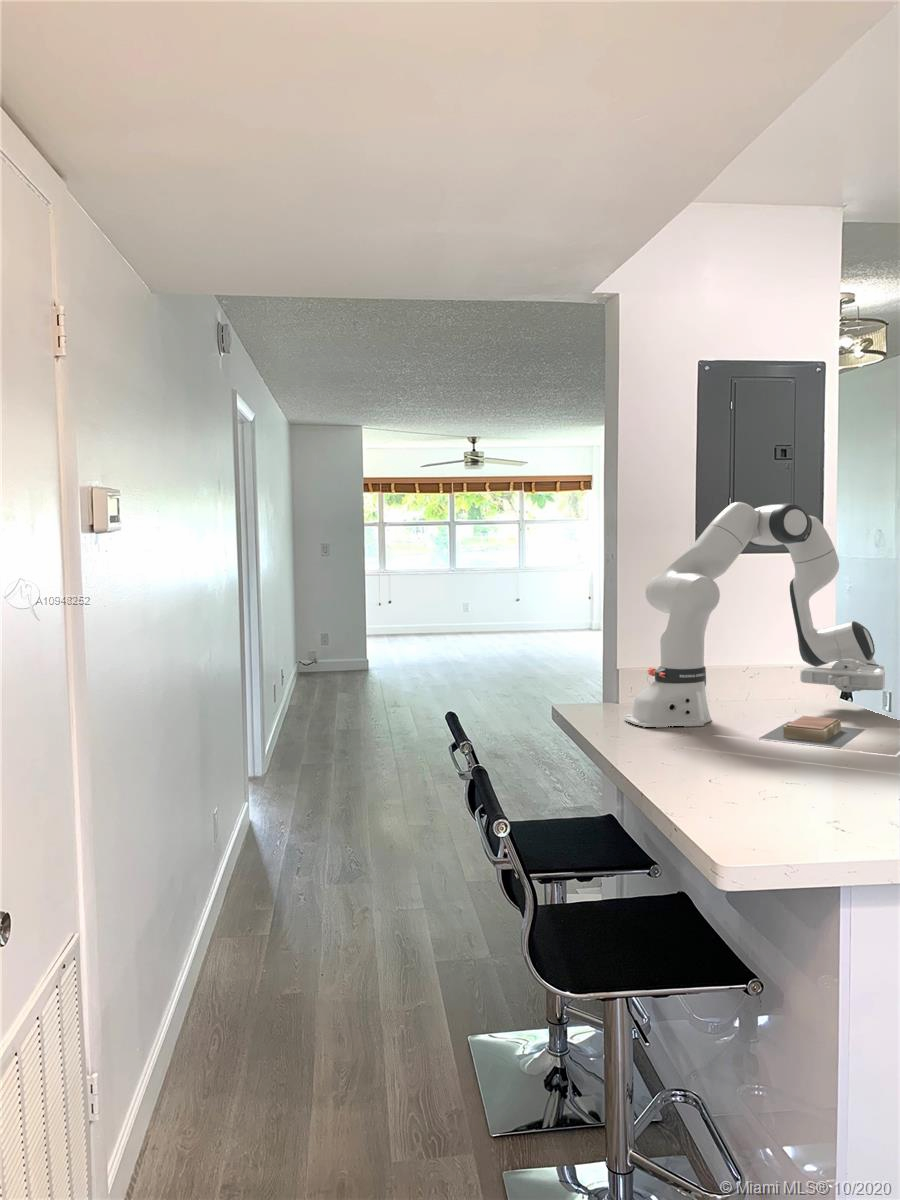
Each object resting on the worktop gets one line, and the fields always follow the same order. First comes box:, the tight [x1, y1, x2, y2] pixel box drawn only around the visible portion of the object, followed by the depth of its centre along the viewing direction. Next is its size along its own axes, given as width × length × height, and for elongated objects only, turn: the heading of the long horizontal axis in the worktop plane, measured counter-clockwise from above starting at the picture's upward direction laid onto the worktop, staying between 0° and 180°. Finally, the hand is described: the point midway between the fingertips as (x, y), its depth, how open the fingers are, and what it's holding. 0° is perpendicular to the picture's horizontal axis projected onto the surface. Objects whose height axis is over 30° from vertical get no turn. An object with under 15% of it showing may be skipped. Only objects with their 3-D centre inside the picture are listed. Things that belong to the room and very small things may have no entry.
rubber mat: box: [758, 721, 866, 750], centre depth 200 cm, size 22×18×1 cm
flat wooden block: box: [783, 715, 842, 742], centre depth 199 cm, size 3×9×14 cm
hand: (834, 681), depth 215 cm, fingers closed
